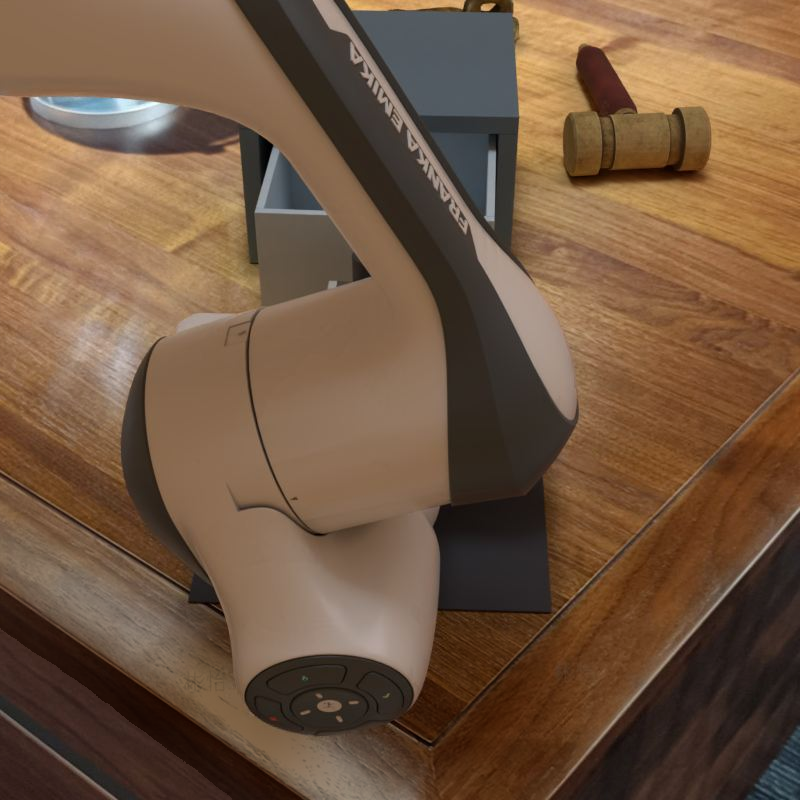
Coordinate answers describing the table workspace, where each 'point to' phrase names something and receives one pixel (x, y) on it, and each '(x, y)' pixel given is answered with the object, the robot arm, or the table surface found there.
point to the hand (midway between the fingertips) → (369, 291)
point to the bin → (318, 236)
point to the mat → (481, 556)
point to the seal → (479, 9)
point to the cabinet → (433, 92)
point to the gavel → (629, 128)
